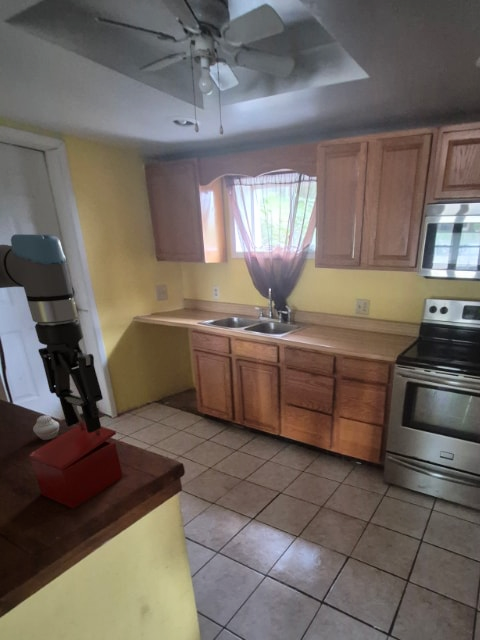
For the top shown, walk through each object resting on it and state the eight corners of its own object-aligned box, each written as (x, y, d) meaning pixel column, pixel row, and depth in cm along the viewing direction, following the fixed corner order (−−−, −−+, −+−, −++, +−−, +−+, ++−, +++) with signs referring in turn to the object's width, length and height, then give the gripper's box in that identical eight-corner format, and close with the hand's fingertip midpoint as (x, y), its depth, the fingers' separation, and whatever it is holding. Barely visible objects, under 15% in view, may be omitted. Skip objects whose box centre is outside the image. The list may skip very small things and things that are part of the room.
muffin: (67, 433, 107) (61, 411, 104) (52, 444, 101) (46, 421, 98) (46, 432, 107) (39, 410, 104) (31, 443, 101) (23, 420, 98)
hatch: (85, 424, 87) (70, 387, 82) (116, 433, 83) (102, 396, 78) (29, 457, 77) (8, 418, 72) (62, 470, 73) (41, 429, 68)
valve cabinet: (93, 467, 91) (84, 432, 87) (123, 478, 87) (115, 442, 83) (42, 496, 81) (29, 458, 77) (73, 510, 77) (61, 470, 73)
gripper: (107, 322, 71) (129, 428, 80) (45, 313, 79) (71, 411, 88) (71, 330, 65) (98, 444, 74) (6, 320, 72) (39, 424, 82)
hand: (84, 426), depth 81 cm, fingers closed on hatch, 6 cm apart
